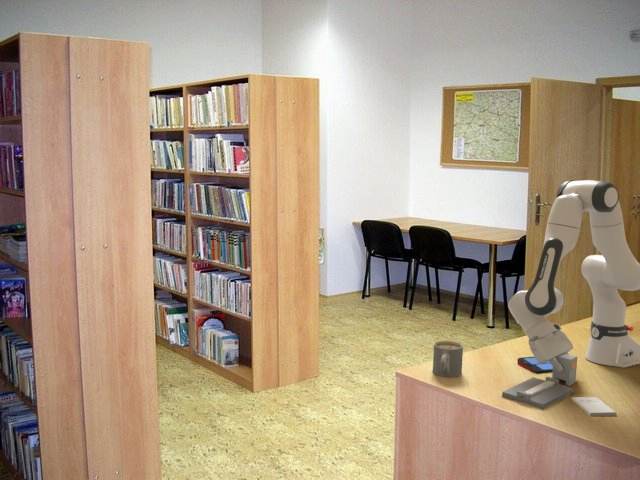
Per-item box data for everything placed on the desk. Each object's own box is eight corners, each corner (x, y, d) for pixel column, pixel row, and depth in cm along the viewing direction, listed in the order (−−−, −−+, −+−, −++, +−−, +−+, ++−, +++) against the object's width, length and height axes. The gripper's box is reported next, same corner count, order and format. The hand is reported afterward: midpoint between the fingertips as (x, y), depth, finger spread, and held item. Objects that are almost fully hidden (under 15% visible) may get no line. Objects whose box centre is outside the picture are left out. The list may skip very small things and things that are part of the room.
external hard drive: (589, 417, 202) (571, 401, 214) (616, 417, 202) (596, 401, 215) (590, 412, 201) (571, 396, 214) (616, 412, 202) (596, 396, 214)
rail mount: (533, 381, 230) (533, 372, 229) (572, 392, 220) (573, 383, 219) (502, 396, 216) (502, 387, 215) (543, 409, 206) (543, 399, 205)
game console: (535, 375, 237) (535, 369, 237) (514, 363, 249) (514, 357, 249) (569, 371, 242) (570, 365, 241) (547, 360, 254) (547, 354, 253)
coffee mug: (439, 365, 244) (440, 339, 242) (465, 371, 238) (467, 344, 237) (423, 376, 233) (425, 348, 231) (451, 382, 227) (452, 353, 226)
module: (558, 377, 234) (560, 352, 233) (576, 382, 230) (578, 356, 228) (551, 380, 231) (553, 355, 229) (569, 385, 226) (571, 359, 225)
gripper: (533, 334, 225) (558, 370, 220) (561, 323, 240) (586, 357, 234) (520, 344, 229) (545, 379, 224) (548, 333, 243) (573, 366, 238)
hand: (566, 368), depth 229 cm, fingers closed on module, 5 cm apart
